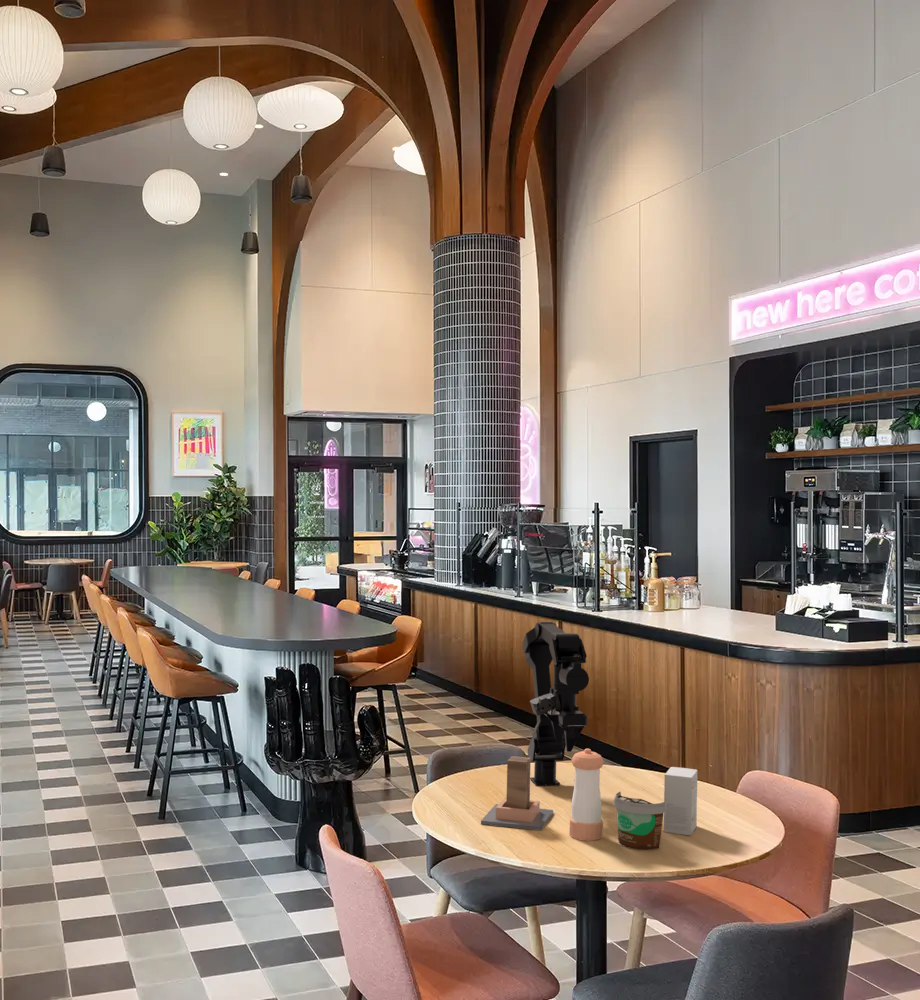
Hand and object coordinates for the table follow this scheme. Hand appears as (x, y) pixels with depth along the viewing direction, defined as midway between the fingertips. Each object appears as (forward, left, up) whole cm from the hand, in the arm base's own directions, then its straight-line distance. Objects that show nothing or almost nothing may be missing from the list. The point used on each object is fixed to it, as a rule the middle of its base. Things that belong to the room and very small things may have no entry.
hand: (563, 747), depth 260 cm
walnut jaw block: (+14, -15, -12) cm, 24 cm away
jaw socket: (+14, -15, -13) cm, 24 cm away
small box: (+26, +20, -13) cm, 35 cm away
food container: (+36, +5, -13) cm, 39 cm away
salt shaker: (+28, -3, -13) cm, 31 cm away
